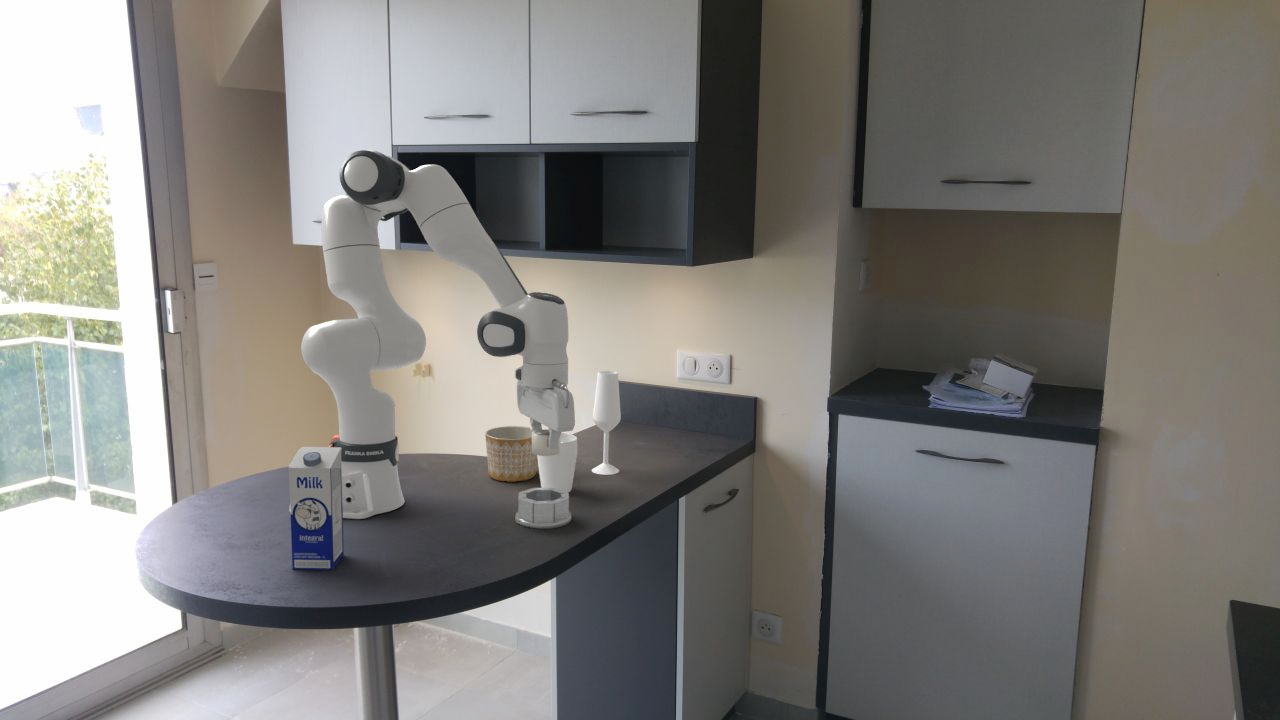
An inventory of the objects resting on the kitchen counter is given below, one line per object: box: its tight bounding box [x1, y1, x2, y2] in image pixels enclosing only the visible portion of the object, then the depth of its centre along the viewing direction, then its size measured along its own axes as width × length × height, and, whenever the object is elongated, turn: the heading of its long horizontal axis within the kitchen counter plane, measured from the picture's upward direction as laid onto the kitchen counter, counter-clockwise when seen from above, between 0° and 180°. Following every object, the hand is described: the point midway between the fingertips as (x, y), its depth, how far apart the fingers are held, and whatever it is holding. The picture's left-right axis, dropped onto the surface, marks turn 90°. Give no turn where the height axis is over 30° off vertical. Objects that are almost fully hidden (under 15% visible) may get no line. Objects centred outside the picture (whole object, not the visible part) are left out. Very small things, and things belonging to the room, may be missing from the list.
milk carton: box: [287, 446, 345, 571], centre depth 156 cm, size 7×7×20 cm
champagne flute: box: [591, 370, 622, 476], centre depth 215 cm, size 7×7×24 cm
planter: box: [484, 425, 538, 483], centre depth 210 cm, size 13×13×10 cm
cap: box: [532, 429, 560, 456], centre depth 180 cm, size 6×6×4 cm
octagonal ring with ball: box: [514, 487, 572, 530], centre depth 182 cm, size 11×11×5 cm
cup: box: [537, 432, 578, 493], centre depth 200 cm, size 9×9×12 cm
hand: (545, 444), depth 180 cm, fingers closed on cap, 5 cm apart
